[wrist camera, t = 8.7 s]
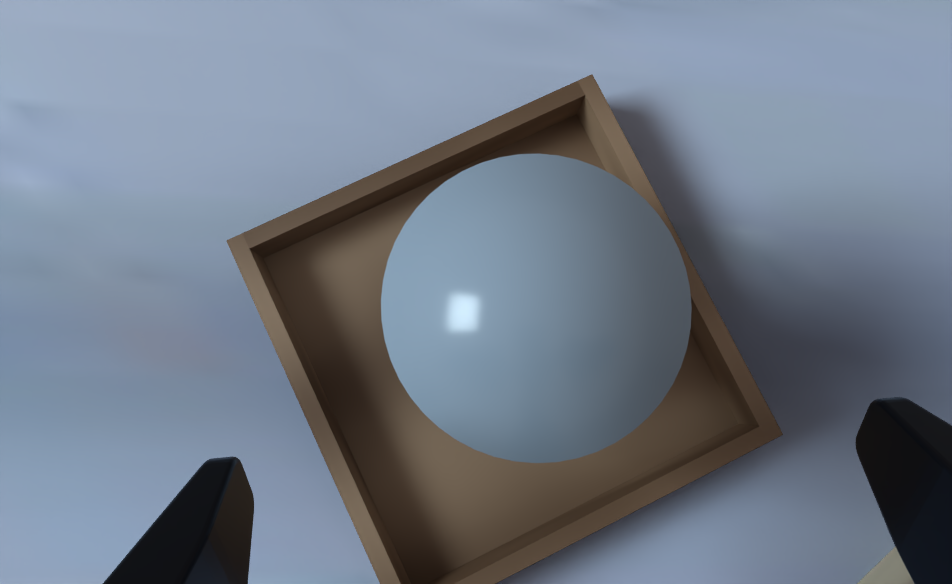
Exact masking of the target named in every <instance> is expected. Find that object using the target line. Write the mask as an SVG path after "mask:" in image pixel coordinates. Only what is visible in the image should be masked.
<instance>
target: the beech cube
mask: <svg viewBox="0 0 952 584" xmlns="http://www.w3.org/2000/svg"><path fill="white" fill-rule="evenodd" d="M857 584H914V582H913V580H912V578H911V576H910V574H909V572H908V571H907V569H906V567H905V565H904V563H903V561H902V559H901V557H900V555H899V553H898V551H897V549H896V546H895V547H894V548H893V549H892V550H891V551H890V552H889V553H888V554H887V555H886V556H885V557H884V558H883V559H882V560H881V561H880V562H879V563H878V564H877V565H876V566H875V567H874V568H873V569H872V570H871V571H870V572H869V573H868V574H867V575H865V576H864V577H863V578H862V579H861V580H860V581H859V582H858V583H857Z"/></svg>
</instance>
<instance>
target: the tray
mask: <svg viewBox="0 0 952 584" xmlns="http://www.w3.org/2000/svg"><path fill="white" fill-rule="evenodd" d="M517 154H548V155H559V156H563V157H568V158H572V159H577V160H580V161H583V162H585V163H588V164H591V165H594V166H596V167H598V168H600V169H602V170H604V171H606V172H608V173H610V174H612V175H614V176H616V177H617V178H618V179H620V180H621V181H623V182H624V183H626V184H627V185H629V186H630V187H631V188H633V189H634V190H635V191H636V192H637V193H638V194H639V195H641V196H642V197H643V198H644V199H645V200H646V201H647V202H648V203H649V204H650V206H651V207H652V208H653V209H654V210H655V211H656V212H657V213H658V215H659V216H660V217H661V219H662V220H663V222H664V223H665V225H666V226H667V228H668V229H669V231H670V233H671V234H672V236H673V238H674V240H675V242H676V244H677V246H678V248H679V251H680V253H681V256H682V259H683V262H684V265H685V267H686V272H687V276H688V281H689V285H690V294H691V306H692V311H691V329H690V335H689V340H688V346H687V350H686V353H685V356H684V359H683V362H682V365H681V368H680V370H679V372H678V374H677V376H676V379H675V381H674V383H673V385H672V386H671V388H670V390H669V391H668V393H667V394H666V396H665V397H664V399H663V400H662V402H661V403H660V404H659V405H658V407H657V408H656V409H655V410H654V411H653V412H652V414H651V415H650V416H649V417H648V418H647V419H646V420H645V421H644V422H643V423H641V424H640V425H639V426H638V427H637V428H636V429H635V430H633V431H632V432H631V433H629V434H628V435H626V436H625V437H623V438H622V439H620V440H619V441H617V442H616V443H614V444H612V445H610V446H608V447H606V448H604V449H602V450H600V451H598V452H595V453H592V454H589V455H586V456H583V457H580V458H576V459H571V460H566V461H560V462H550V463H528V462H516V461H511V460H506V459H502V458H497V457H493V456H491V455H488V454H485V453H483V452H480V451H477V450H474V449H473V448H471V447H469V446H467V445H465V444H463V443H461V442H459V441H457V440H456V439H454V438H453V437H451V436H450V435H449V434H447V433H446V432H444V431H443V430H442V429H440V428H439V427H438V426H437V425H436V424H434V423H433V422H432V421H431V420H430V419H429V418H428V417H427V416H426V415H425V414H424V413H423V412H422V411H421V410H420V408H419V407H418V406H417V405H416V404H415V402H414V401H413V400H412V399H411V397H410V396H409V394H408V393H407V391H406V390H405V388H404V386H403V385H402V383H401V381H400V380H399V378H398V376H397V373H396V371H395V369H394V367H393V365H392V362H391V360H390V357H389V353H388V350H387V347H386V343H385V339H384V333H383V327H382V320H381V295H382V285H383V278H384V274H385V270H386V266H387V262H388V258H389V256H390V253H391V251H392V248H393V246H394V243H395V241H396V239H397V237H398V235H399V233H400V232H401V230H402V228H403V226H404V224H405V223H406V222H407V220H408V219H409V217H410V216H411V215H412V213H413V212H414V211H415V209H416V208H417V207H418V206H419V205H420V204H421V203H422V202H423V201H424V200H425V199H426V197H427V196H428V195H429V194H430V193H432V192H433V191H434V190H435V189H437V188H438V187H439V186H440V185H442V184H443V183H444V182H445V181H447V180H448V179H450V178H452V177H453V176H455V175H457V174H458V173H460V172H462V171H464V170H466V169H468V168H470V167H473V166H475V165H477V164H479V163H482V162H486V161H489V160H492V159H496V158H499V157H505V156H511V155H517ZM227 243H228V245H229V248H230V250H231V252H232V254H233V256H234V259H235V261H236V263H237V265H238V268H239V270H240V272H241V274H242V277H243V279H244V281H245V283H246V285H247V288H248V290H249V292H250V294H251V297H252V299H253V301H254V303H255V306H256V308H257V310H258V312H259V314H260V317H261V319H262V321H263V323H264V326H265V328H266V330H267V332H268V335H269V337H270V339H271V341H272V343H273V346H274V348H275V350H276V352H277V355H278V357H279V359H280V361H281V364H282V366H283V368H284V370H285V372H286V375H287V377H288V379H289V381H290V384H291V386H292V388H293V390H294V393H295V395H296V397H297V399H298V401H299V404H300V406H301V408H302V410H303V413H304V415H305V417H306V419H307V422H308V424H309V426H310V428H311V430H312V433H313V435H314V437H315V439H316V442H317V444H318V446H319V448H320V451H321V453H322V455H323V457H324V459H325V462H326V464H327V466H328V468H329V471H330V473H331V475H332V477H333V480H334V482H335V484H336V486H337V488H338V491H339V493H340V495H341V497H342V500H343V502H344V504H345V506H346V509H347V511H348V513H349V515H350V517H351V520H352V522H353V524H354V526H355V529H356V531H357V533H358V535H359V538H360V540H361V542H362V544H363V546H364V549H365V551H366V553H367V555H368V558H369V560H370V562H371V564H372V567H373V569H374V571H375V573H376V575H377V578H378V580H379V582H380V584H495V583H497V582H499V581H501V580H503V579H505V578H507V577H509V576H511V575H513V574H515V573H517V572H519V571H520V570H522V569H524V568H526V567H528V566H530V565H532V564H534V563H536V562H538V561H540V560H542V559H544V558H546V557H548V556H549V555H551V554H553V553H555V552H557V551H559V550H561V549H563V548H565V547H567V546H569V545H571V544H573V543H575V542H577V541H578V540H580V539H582V538H584V537H586V536H588V535H590V534H592V533H594V532H596V531H598V530H600V529H602V528H604V527H605V526H607V525H609V524H611V523H613V522H615V521H617V520H619V519H621V518H623V517H625V516H627V515H629V514H631V513H633V512H634V511H636V510H638V509H640V508H642V507H644V506H646V505H648V504H650V503H652V502H654V501H656V500H658V499H660V498H662V497H663V496H665V495H667V494H669V493H671V492H673V491H675V490H677V489H679V488H681V487H683V486H685V485H687V484H689V483H690V482H692V481H694V480H696V479H698V478H700V477H702V476H704V475H706V474H708V473H710V472H712V471H714V470H716V469H718V468H719V467H721V466H723V465H725V464H727V463H729V462H731V461H733V460H735V459H737V458H739V457H741V456H743V455H745V454H747V453H748V452H750V451H752V450H754V449H756V448H758V447H760V446H762V445H764V444H766V443H768V442H770V441H772V440H774V439H775V438H777V437H779V436H781V435H783V433H782V432H781V430H780V428H779V426H778V424H777V422H776V420H775V418H774V416H773V415H772V413H771V411H770V409H769V407H768V405H767V403H766V401H765V399H764V398H763V396H762V394H761V392H760V390H759V388H758V386H757V384H756V382H755V381H754V379H753V377H752V375H751V373H750V371H749V369H748V367H747V365H746V364H745V362H744V360H743V358H742V356H741V354H740V352H739V350H738V349H737V347H736V345H735V343H734V341H733V339H732V337H731V335H730V333H729V332H728V330H727V328H726V326H725V324H724V322H723V320H722V318H721V316H720V315H719V313H718V311H717V309H716V307H715V305H714V303H713V301H712V299H711V298H710V296H709V294H708V292H707V290H706V288H705V286H704V284H703V282H702V281H701V279H700V277H699V275H698V273H697V271H696V269H695V267H694V265H693V264H692V262H691V260H690V258H689V256H688V254H687V252H686V250H685V248H684V247H683V245H682V243H681V241H680V239H679V237H678V235H677V233H676V231H675V230H674V228H673V226H672V224H671V222H670V220H669V218H668V216H667V214H666V213H665V211H664V209H663V207H662V205H661V203H660V201H659V199H658V197H657V196H656V194H655V192H654V190H653V188H652V186H651V184H650V182H649V181H648V179H647V177H646V175H645V173H644V171H643V169H642V167H641V165H640V164H639V162H638V160H637V158H636V156H635V154H634V152H633V150H632V148H631V147H630V145H629V143H628V141H627V139H626V137H625V135H624V133H623V131H622V130H621V128H620V126H619V124H618V122H617V120H616V118H615V116H614V114H613V113H612V111H611V109H610V107H609V105H608V103H607V101H606V99H605V97H604V96H603V94H602V92H601V90H600V88H599V86H598V84H597V82H596V80H595V79H594V77H593V75H589V76H587V77H585V78H583V79H581V80H578V81H576V82H574V83H572V84H570V85H567V86H565V87H563V88H561V89H559V90H556V91H554V92H552V93H550V94H548V95H545V96H543V97H541V98H539V99H537V100H534V101H532V102H530V103H528V104H526V105H523V106H521V107H519V108H517V109H515V110H513V111H510V112H508V113H506V114H504V115H502V116H499V117H497V118H495V119H493V120H491V121H488V122H486V123H484V124H482V125H480V126H477V127H475V128H473V129H471V130H469V131H466V132H464V133H462V134H460V135H458V136H455V137H453V138H451V139H449V140H447V141H444V142H442V143H440V144H438V145H436V146H433V147H431V148H429V149H427V150H425V151H422V152H420V153H418V154H416V155H414V156H411V157H409V158H407V159H405V160H403V161H400V162H398V163H396V164H394V165H392V166H389V167H387V168H385V169H383V170H381V171H378V172H376V173H374V174H372V175H370V176H367V177H365V178H363V179H361V180H359V181H356V182H354V183H352V184H350V185H348V186H345V187H343V188H341V189H339V190H337V191H334V192H332V193H330V194H328V195H326V196H323V197H321V198H319V199H317V200H315V201H312V202H310V203H308V204H306V205H304V206H301V207H299V208H297V209H295V210H293V211H290V212H288V213H286V214H284V215H282V216H279V217H277V218H275V219H273V220H271V221H268V222H266V223H264V224H262V225H260V226H257V227H255V228H253V229H251V230H249V231H246V232H244V233H242V234H240V235H238V236H235V237H233V238H231V239H229V240H227Z"/></svg>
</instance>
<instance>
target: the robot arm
mask: <svg viewBox="0 0 952 584" xmlns="http://www.w3.org/2000/svg"><path fill="white" fill-rule="evenodd" d="M856 450H857V454H858V457H859V459H860V461H861V464H862V466H863V469H864V471H865V474H866V476H867V479H868V481H869V484H870V486H871V489H872V491H873V493H874V496H875V498H876V501H877V503H878V506H879V508H880V511H881V513H882V516H883V518H884V520H885V523H886V525H887V528H888V530H889V533H890V535H891V537H892V540H893V542H894V544H895V546H896V549H897V551H898V553H899V555H900V557H901V559H902V561H903V563H904V565H905V567H906V569H907V571H908V572H909V574H910V576H911V578H912V580H913V582H914V584H952V425H950V424H948V423H947V422H945V421H943V420H942V419H940V418H938V417H937V416H935V415H933V414H932V413H930V412H928V411H927V410H925V409H924V408H922V407H920V406H919V405H917V404H915V403H914V402H912V401H910V400H908V399H906V398H902V397H894V398H883V399H876V400H874V401H873V402H872V403H871V404H870V406H869V408H868V410H867V412H866V415H865V417H864V419H863V422H862V424H861V426H860V429H859V431H858V434H857V436H856ZM253 515H254V498H253V493H252V490H251V487H250V485H249V482H248V479H247V477H246V474H245V471H244V469H243V466H242V463H241V462H240V460H239V459H238V458H236V457H224V458H213V459H209V460H207V461H206V462H205V463H204V464H203V465H202V466H201V467H200V468H199V469H198V471H197V472H196V473H195V474H194V475H193V477H192V478H191V479H190V480H189V481H188V483H187V484H186V485H185V486H184V487H183V489H182V490H181V491H180V492H179V493H178V494H177V496H176V497H175V498H174V499H173V500H172V502H171V503H170V504H169V505H168V506H167V508H166V509H165V510H164V511H163V512H162V514H161V515H160V516H159V517H158V518H157V520H156V521H155V522H154V523H153V524H152V526H151V527H150V528H149V529H148V530H147V532H146V533H145V534H144V535H143V536H142V537H141V539H140V540H139V541H138V542H137V543H136V545H135V546H134V547H133V548H132V549H131V551H130V552H129V553H128V554H127V555H126V557H125V558H124V559H123V560H122V561H121V563H120V564H119V565H118V566H117V567H116V569H115V570H114V571H113V572H112V573H111V575H110V576H109V577H108V578H107V579H106V580H105V582H104V583H103V584H248V572H249V561H250V549H251V538H252V526H253Z"/></svg>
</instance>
